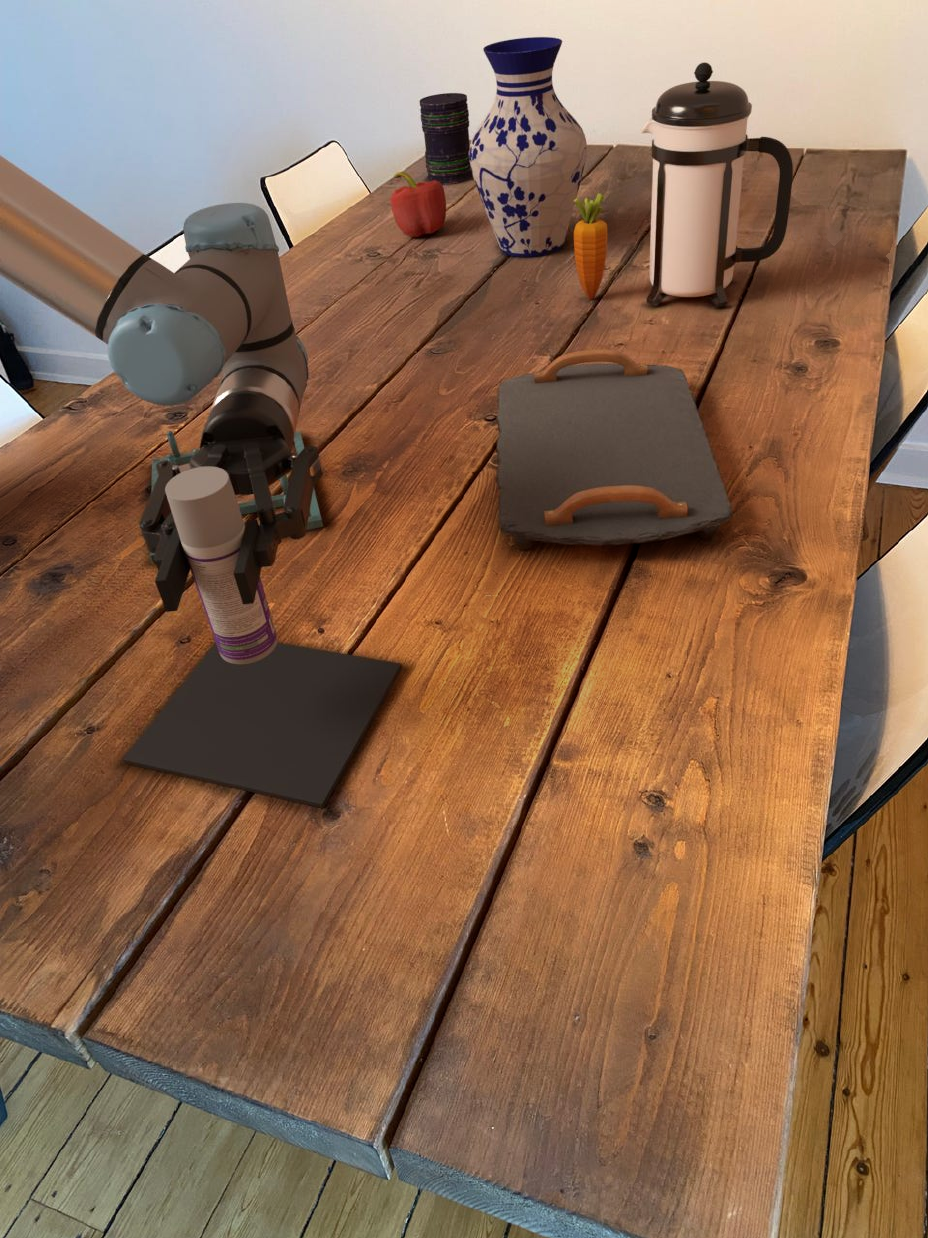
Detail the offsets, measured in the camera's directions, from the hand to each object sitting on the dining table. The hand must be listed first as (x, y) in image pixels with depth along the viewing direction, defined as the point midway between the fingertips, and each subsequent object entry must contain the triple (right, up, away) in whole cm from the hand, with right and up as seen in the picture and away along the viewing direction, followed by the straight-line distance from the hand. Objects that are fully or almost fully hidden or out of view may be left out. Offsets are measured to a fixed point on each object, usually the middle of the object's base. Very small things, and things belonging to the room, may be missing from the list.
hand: (205, 591), depth 65 cm
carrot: (+37, +46, +77) cm, 97 cm away
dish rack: (-8, +12, +42) cm, 45 cm away
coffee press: (+53, +46, +75) cm, 103 cm away
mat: (+1, -10, +14) cm, 17 cm away
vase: (+30, +62, +97) cm, 119 cm away
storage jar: (+15, +91, +135) cm, 164 cm away
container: (+1, -4, +10) cm, 11 cm away
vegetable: (+10, +69, +108) cm, 129 cm away
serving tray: (+33, +16, +41) cm, 55 cm away
